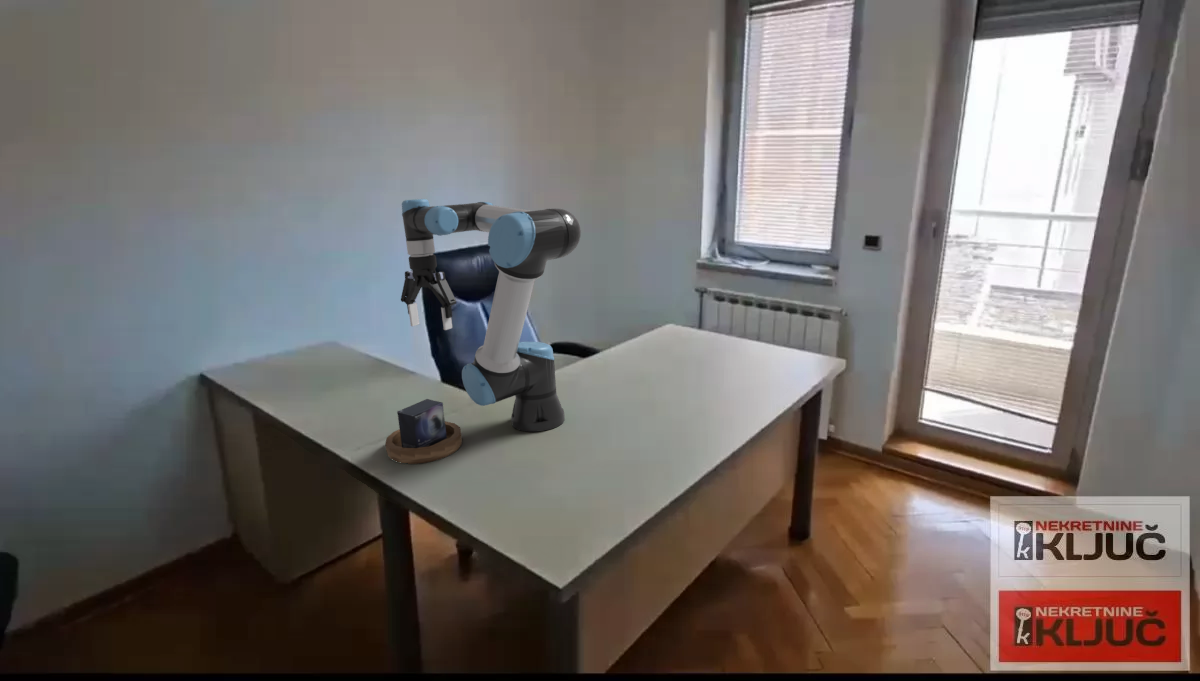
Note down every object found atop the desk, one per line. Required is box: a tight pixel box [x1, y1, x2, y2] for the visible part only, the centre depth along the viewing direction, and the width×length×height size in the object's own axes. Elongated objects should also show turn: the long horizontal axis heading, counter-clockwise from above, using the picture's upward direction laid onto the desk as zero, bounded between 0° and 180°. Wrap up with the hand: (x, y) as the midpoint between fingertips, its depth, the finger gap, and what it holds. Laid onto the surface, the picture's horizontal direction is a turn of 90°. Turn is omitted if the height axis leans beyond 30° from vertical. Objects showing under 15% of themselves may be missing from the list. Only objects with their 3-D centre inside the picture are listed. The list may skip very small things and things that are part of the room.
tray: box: [384, 420, 463, 465], centre depth 163 cm, size 19×19×4 cm
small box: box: [396, 398, 447, 448], centre depth 162 cm, size 11×6×10 cm, turn 148°
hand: (431, 327), depth 181 cm, fingers open, 13 cm apart
